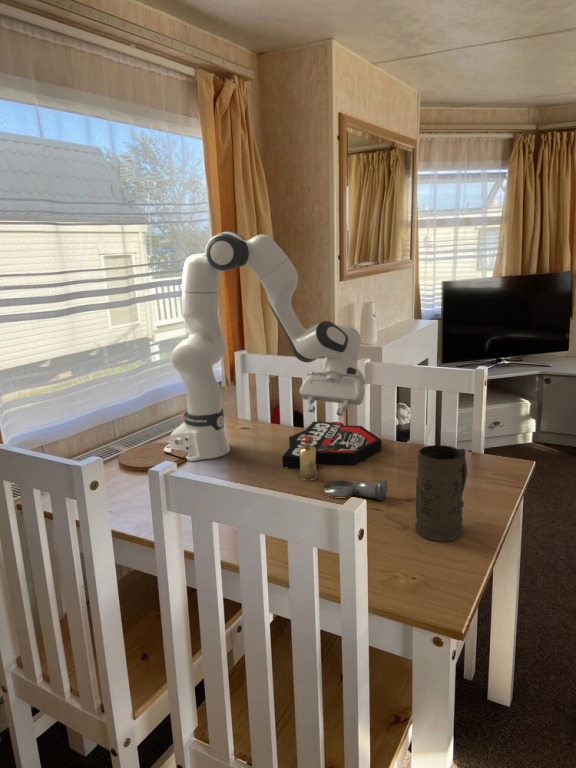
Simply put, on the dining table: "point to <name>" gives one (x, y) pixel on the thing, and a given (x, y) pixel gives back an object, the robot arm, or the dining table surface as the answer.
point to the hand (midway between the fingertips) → (324, 413)
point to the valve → (307, 459)
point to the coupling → (356, 489)
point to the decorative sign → (334, 444)
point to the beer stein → (440, 492)
